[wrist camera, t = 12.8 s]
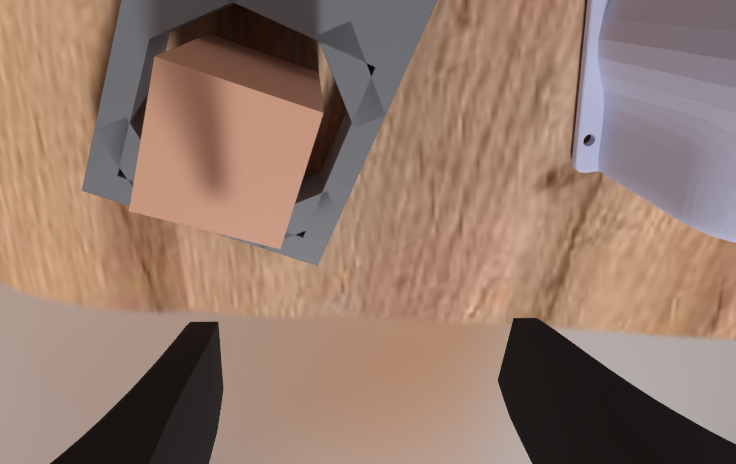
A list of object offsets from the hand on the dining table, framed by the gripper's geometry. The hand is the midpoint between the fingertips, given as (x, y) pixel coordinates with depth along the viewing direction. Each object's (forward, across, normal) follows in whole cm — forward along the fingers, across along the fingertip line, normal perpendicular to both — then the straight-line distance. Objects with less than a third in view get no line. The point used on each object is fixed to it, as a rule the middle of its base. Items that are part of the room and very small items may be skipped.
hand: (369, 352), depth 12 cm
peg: (+10, +4, -4) cm, 12 cm away
